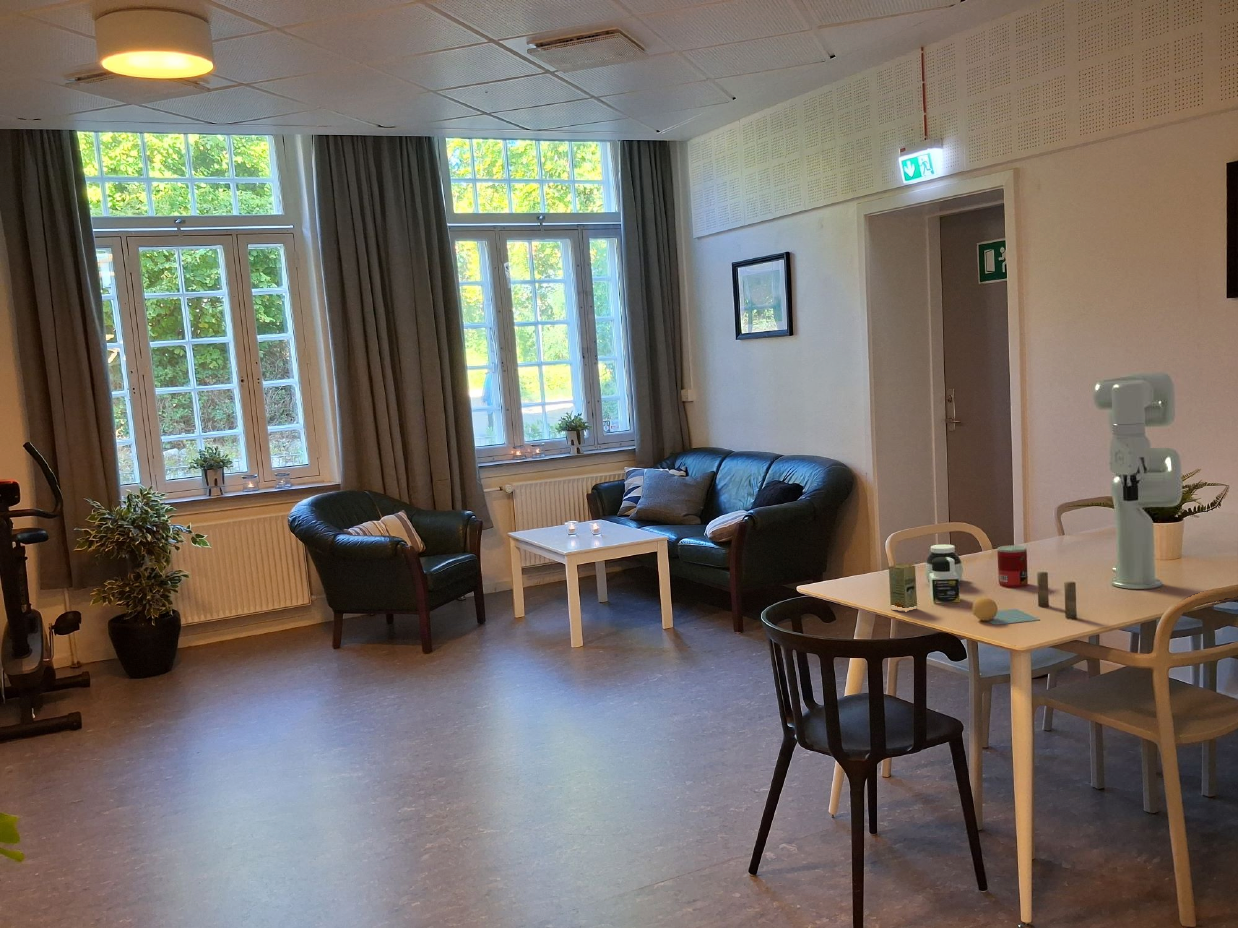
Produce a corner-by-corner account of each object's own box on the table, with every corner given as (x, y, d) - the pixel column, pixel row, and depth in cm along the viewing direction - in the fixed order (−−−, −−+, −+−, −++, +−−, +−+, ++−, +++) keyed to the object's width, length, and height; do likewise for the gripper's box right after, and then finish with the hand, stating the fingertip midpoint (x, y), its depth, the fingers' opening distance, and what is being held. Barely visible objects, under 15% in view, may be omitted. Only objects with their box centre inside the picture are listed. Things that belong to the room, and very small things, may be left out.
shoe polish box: (890, 609, 278) (888, 566, 277) (902, 606, 281) (900, 563, 280) (905, 612, 275) (903, 568, 273) (917, 608, 278) (915, 565, 276)
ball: (963, 608, 263) (978, 590, 263) (980, 622, 264) (994, 604, 264) (974, 612, 257) (990, 594, 257) (991, 627, 258) (1006, 609, 258)
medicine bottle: (933, 603, 282) (931, 561, 281) (930, 597, 289) (928, 556, 288) (960, 602, 280) (958, 560, 279) (956, 596, 287) (954, 555, 286)
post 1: (1036, 605, 272) (1035, 572, 271) (1045, 604, 272) (1044, 571, 271) (1041, 607, 269) (1040, 574, 268) (1050, 606, 269) (1049, 573, 268)
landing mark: (973, 614, 268) (972, 613, 268) (1016, 609, 269) (1016, 608, 269) (995, 625, 256) (995, 624, 256) (1040, 620, 257) (1040, 619, 257)
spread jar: (930, 589, 299) (929, 550, 298) (920, 580, 310) (918, 543, 309) (972, 586, 298) (970, 547, 297) (960, 578, 310) (958, 540, 309)
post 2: (1063, 616, 259) (1062, 582, 258) (1073, 615, 259) (1071, 581, 258) (1069, 619, 256) (1067, 584, 255) (1078, 618, 256) (1077, 583, 256)
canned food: (1027, 588, 291) (1025, 550, 290) (997, 587, 294) (996, 550, 293) (1028, 582, 298) (1027, 545, 297) (999, 581, 301) (998, 545, 300)
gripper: (1098, 430, 270) (1100, 498, 272) (1133, 433, 255) (1135, 505, 257) (1124, 427, 271) (1126, 495, 273) (1160, 430, 256) (1162, 502, 258)
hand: (1130, 500), depth 265 cm, fingers closed
